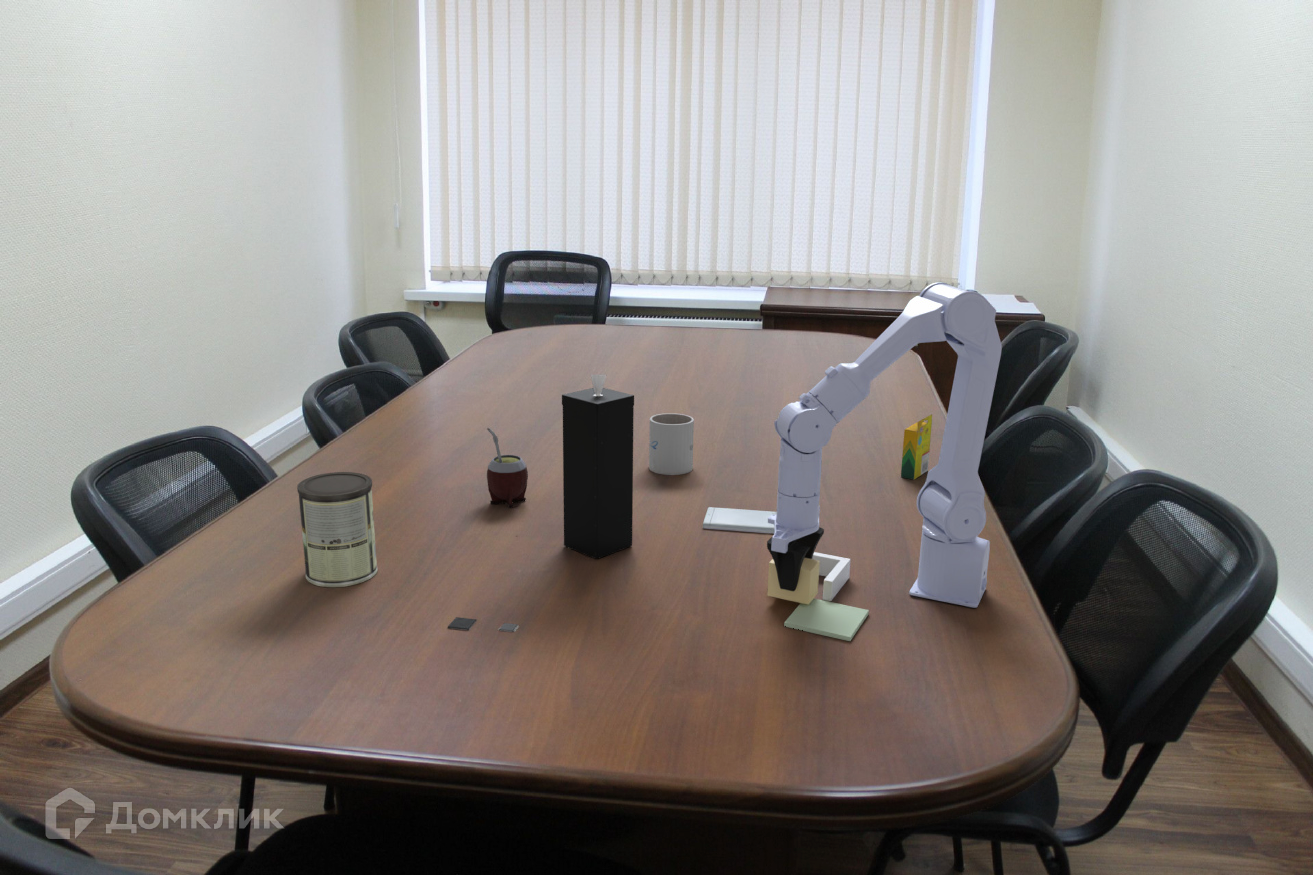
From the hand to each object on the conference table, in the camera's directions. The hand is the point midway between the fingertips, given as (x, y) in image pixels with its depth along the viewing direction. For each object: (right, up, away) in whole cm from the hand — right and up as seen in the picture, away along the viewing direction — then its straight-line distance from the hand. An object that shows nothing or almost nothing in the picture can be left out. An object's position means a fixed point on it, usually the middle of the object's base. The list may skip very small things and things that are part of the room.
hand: (793, 582), depth 143 cm
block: (0, -2, 0) cm, 2 cm away
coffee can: (-65, 0, +8) cm, 66 cm away
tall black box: (-28, +3, +19) cm, 34 cm away
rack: (+3, -1, +7) cm, 8 cm away
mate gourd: (-45, +9, +38) cm, 60 cm away
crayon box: (+31, +13, +58) cm, 67 cm away
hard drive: (-5, +5, +31) cm, 32 cm away
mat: (+4, -4, -4) cm, 7 cm away
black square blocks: (-44, -5, -7) cm, 45 cm away
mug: (-16, +15, +61) cm, 64 cm away
